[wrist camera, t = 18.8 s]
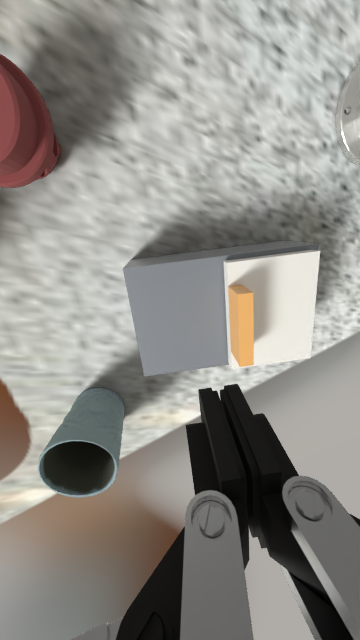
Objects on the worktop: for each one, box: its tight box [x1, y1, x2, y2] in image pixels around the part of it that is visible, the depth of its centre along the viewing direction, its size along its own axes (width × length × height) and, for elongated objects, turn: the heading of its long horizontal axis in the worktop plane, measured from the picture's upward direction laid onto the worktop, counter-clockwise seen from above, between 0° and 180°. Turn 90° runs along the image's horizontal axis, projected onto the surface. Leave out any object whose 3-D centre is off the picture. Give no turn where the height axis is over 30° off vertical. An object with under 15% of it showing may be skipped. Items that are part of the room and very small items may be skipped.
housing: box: [123, 240, 319, 377], centre depth 33 cm, size 22×14×8 cm, turn 97°
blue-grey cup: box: [38, 388, 125, 497], centre depth 37 cm, size 10×10×12 cm
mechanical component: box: [0, 54, 61, 188], centre depth 23 cm, size 12×10×10 cm
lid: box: [224, 250, 320, 369], centre depth 27 cm, size 10×13×5 cm
